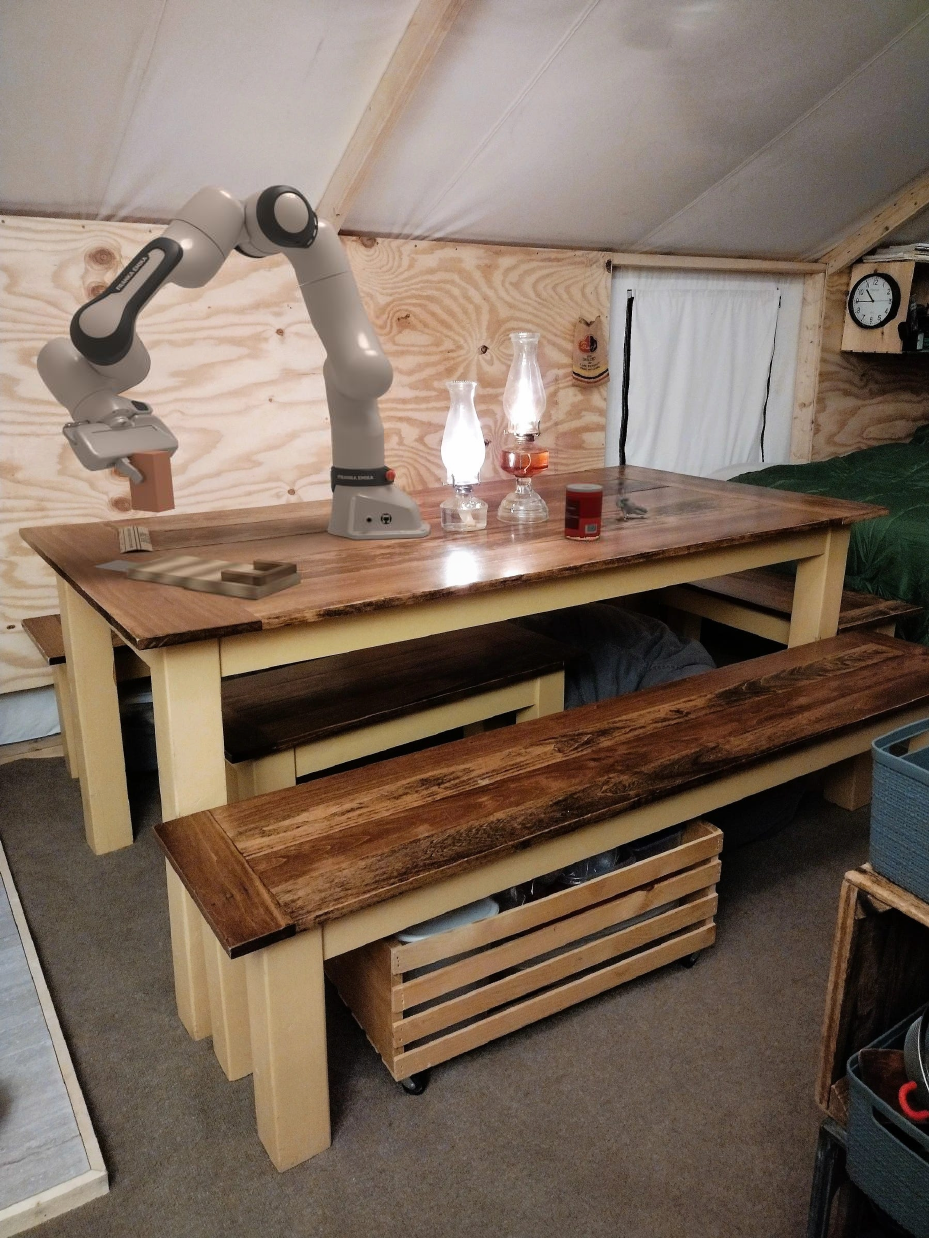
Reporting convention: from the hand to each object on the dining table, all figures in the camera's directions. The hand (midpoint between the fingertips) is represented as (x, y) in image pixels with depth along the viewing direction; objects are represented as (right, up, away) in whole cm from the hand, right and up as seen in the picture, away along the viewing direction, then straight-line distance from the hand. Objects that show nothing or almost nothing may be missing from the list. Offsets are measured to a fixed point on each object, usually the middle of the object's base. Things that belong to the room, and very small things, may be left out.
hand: (153, 479), depth 160 cm
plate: (-8, -15, +8) cm, 19 cm away
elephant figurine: (+93, -1, +60) cm, 111 cm away
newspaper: (-13, -9, +29) cm, 34 cm away
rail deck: (+10, -18, 0) cm, 21 cm away
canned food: (+79, -7, +38) cm, 88 cm away
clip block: (-1, -5, +2) cm, 5 cm away
